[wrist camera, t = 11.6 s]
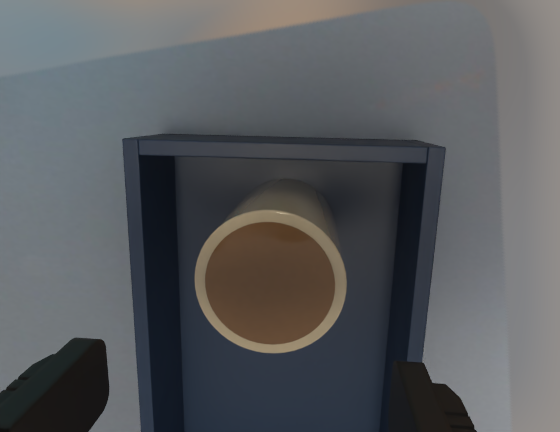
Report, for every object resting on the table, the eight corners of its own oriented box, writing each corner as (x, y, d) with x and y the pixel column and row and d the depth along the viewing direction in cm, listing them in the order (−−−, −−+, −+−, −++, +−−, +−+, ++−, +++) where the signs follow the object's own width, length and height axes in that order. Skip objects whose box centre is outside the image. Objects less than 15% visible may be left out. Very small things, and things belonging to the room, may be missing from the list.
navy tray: (163, 133, 26) (121, 138, 21) (417, 140, 25) (446, 147, 20) (177, 473, 32) (148, 548, 27) (383, 491, 31) (398, 573, 26)
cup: (279, 156, 26) (261, 177, 17) (358, 227, 26) (380, 282, 18) (212, 233, 27) (163, 288, 18) (289, 298, 28) (276, 381, 19)
